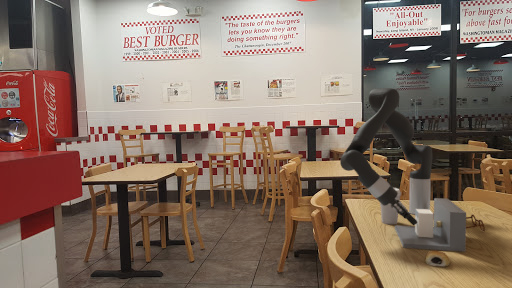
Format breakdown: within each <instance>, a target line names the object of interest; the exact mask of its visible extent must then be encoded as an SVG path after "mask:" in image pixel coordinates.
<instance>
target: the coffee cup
mask: <svg viewBox="0 0 512 288" xmlns="http://www.w3.org/2000/svg"><path fill="white" fill-rule="evenodd" d="M393 188H394V189H395V190H396V191H397V192H398V195H397V197H396V198H395V199H396V200H398V199H399V200H400V201H401V195H402V192H401V190H400V189H399V188H397V187H393ZM379 203H380V202H379ZM380 215H381V223H382V224H386V225H398V221H399V214H398V213H397V212H396V211H395V210H393V209H392V208H391V204H390V203H389V204H388V205H386V206H383V205H382V204H381V203H380Z"/></svg>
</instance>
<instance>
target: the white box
mask: <svg viewBox="0 0 512 288" xmlns="http://www.w3.org/2000/svg"><path fill="white" fill-rule="evenodd" d="M414 215H415V217H414V218H415V219H416V220H417V223H416V224H415V225H414V226H415V232H416V234H417V235H418V237H428V238H433V227H434V212H433V211H431V209H430V210H429V209H415V214H414Z"/></svg>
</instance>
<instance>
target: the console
mask: <svg viewBox="0 0 512 288" xmlns="http://www.w3.org/2000/svg"><path fill="white" fill-rule="evenodd" d="M466 217H467V212H465V210H463V209H462V208H461V207H459V206H458V205H457V204H455V203H454V202H453V201H451V200H450V199H449V198H438V197H435V198H434V199H433V238H428V237H418V235H417V234H416V232H415V225H398V224H394V230H395V232H396V236H397V237H398V239H399V241H400V244H401V245H402V248H404V249H415V250H416V249H418V250H432V251H447V252H450V251H451V252H466V248H467V247H466V246H467V244H466V242H467V240H466V239H467V238H466V237H467V228H466V227H467V219H466Z"/></svg>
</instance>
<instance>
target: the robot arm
mask: <svg viewBox="0 0 512 288" xmlns="http://www.w3.org/2000/svg"><path fill="white" fill-rule="evenodd" d="M399 102H400V93H399V91H398V90H397V88H385V87H383V88H382V87H380V88H379V87H378V88H373V89H372V90H371V91H370V92H369V93H368V103H369V105H370V108H371V109H372V110H373V111H374V112H375V114H374V115H372V117H370V118H369V119H367V120H366V121H365V122H363V123H362V124H361V126H360V127H359V128H358V129H357V131H356V133H355V135H354V137H353V138H352V141H351V142H350V143H349V145H348V146H347V148H346V149H345V151H344V152H343V154H342V156H341V157H340V160H339V161H340V166H341V168H342V169H343V170H345V171H349V172H350V171H354V172H355V173H356V175H357V180H358V181H359V182H360V183H361V184H362V185H363V186H364V187H365V188H366V190H367V191H369V193H370V194H371V195H372V196H373V197H374V198H375V199H376V200H377V201H378V202H379V203H381V204H382V205H383V206H386V205H388V204H389V203H390V204H391V208H392V209H393V210H395V211H396V212H397V213H398V216H399V215H400V216H401V217H402V218H403V219H404V220H405V219H406V220H407V222H409V223H410V224H411V226H415V224H416V223H417V220H416V219H415V217H414V216H413V215H415V209H429V210H430V211H431V178H432V177H431V174H432V164H433V150H432V147H431V145H427V144H414V143H413V142H412V140H413V138H414V135H415V129H414V126H413V125H412V123H411V122H410V120H409V119H408V118H407V117H406V116H405V115H404V114H402V113H400V112H399V111H397V110H396V109H397V107H398V105H399ZM384 124H385V126H386V127H387V128H388V131H389V132H390V133H391V135H392V136H393V137H394V139H395V140H396V141H397V143H398V145H399V147H400V148H401V151H402V152H403V154H404V156H405V159H406V160H407V161H408V163H411V164H415V165H420V167H419V168H418V169H416V170H412V171H410V172H409V203H408V204H409V206H408V207H409V209H407V207H406V206H405V205H404V204H403V202H402V201H401V199H400V200H399V199H398V200H396V199H395V198H396V197H397V195H398V192H397V191H396V190H395V189H394V188H395V187H393V186H392V185H391V184H390V183H389V182H388V181H387V180H386V179H385V178H383V177H382V176H381V175H380V174H379V173H378V172H377V171H376V170H374V168H372V166H371V164H370V162H369V161H368V160H367V158H366V156H365V155H364V153H365V152H367V151H368V149H369V148H370V146H371V145H372V142H373V141H374V140H375V137H376V135H377V134H378V132H379V130H380V129H381V128H382V127H383V125H384ZM408 210H409V211H408Z"/></svg>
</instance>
